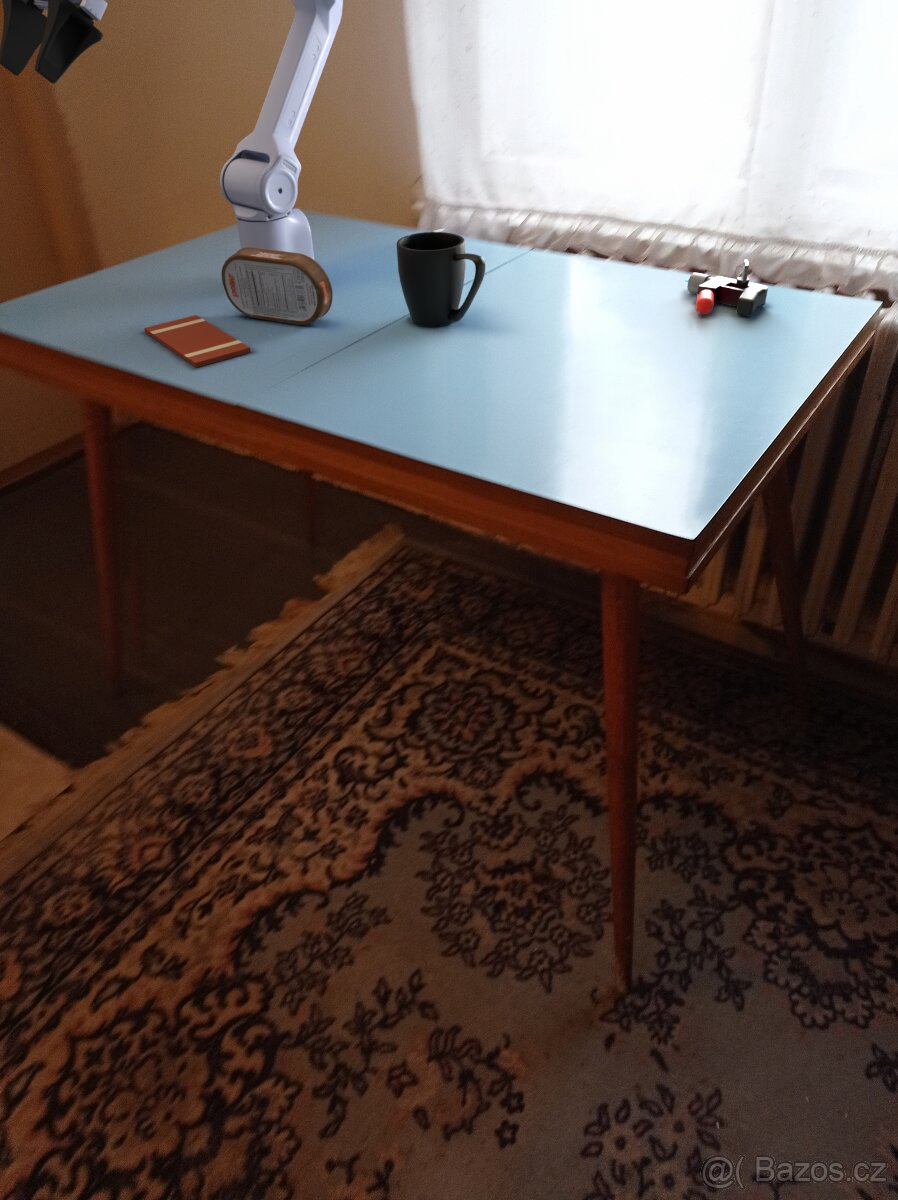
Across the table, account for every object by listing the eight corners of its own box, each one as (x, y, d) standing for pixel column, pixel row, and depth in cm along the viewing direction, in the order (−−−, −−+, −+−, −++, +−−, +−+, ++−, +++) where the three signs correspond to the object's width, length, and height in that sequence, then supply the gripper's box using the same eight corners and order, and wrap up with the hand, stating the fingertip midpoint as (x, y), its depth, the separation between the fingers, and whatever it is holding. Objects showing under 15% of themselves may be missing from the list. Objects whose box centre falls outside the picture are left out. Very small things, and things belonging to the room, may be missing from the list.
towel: (196, 319, 116) (195, 314, 116) (251, 352, 107) (250, 347, 106) (145, 332, 113) (143, 327, 113) (196, 367, 103) (194, 362, 103)
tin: (337, 323, 114) (330, 253, 109) (324, 331, 112) (316, 261, 106) (238, 309, 119) (227, 242, 114) (224, 317, 117) (212, 249, 112)
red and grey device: (690, 286, 121) (694, 249, 118) (775, 304, 114) (782, 265, 111) (651, 306, 115) (655, 267, 112) (738, 326, 109) (745, 286, 106)
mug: (458, 343, 107) (456, 260, 101) (387, 321, 114) (381, 242, 108) (503, 323, 112) (503, 244, 106) (432, 303, 118) (429, 227, 113)
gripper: (11, -80, 95) (-42, 40, 96) (85, -77, 88) (27, 53, 89) (67, -28, 101) (17, 84, 102) (142, -21, 94) (87, 100, 95)
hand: (25, 73), depth 96 cm, fingers open, 7 cm apart
